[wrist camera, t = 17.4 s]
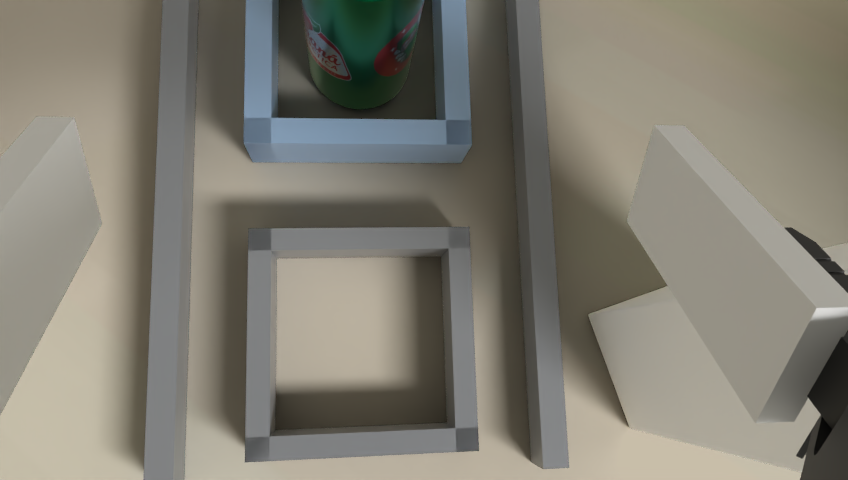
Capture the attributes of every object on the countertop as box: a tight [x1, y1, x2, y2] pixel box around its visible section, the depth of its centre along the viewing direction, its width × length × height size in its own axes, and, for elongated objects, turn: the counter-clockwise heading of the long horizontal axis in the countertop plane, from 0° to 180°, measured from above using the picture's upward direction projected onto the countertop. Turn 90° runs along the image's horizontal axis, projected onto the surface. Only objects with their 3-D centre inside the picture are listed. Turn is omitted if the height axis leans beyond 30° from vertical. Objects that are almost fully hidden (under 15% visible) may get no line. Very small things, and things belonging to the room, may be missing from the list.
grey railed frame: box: [143, 0, 569, 480], centre depth 31 cm, size 18×26×3 cm
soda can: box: [301, 0, 425, 109], centre depth 28 cm, size 5×5×12 cm
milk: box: [588, 243, 848, 473], centre depth 22 cm, size 6×6×22 cm
